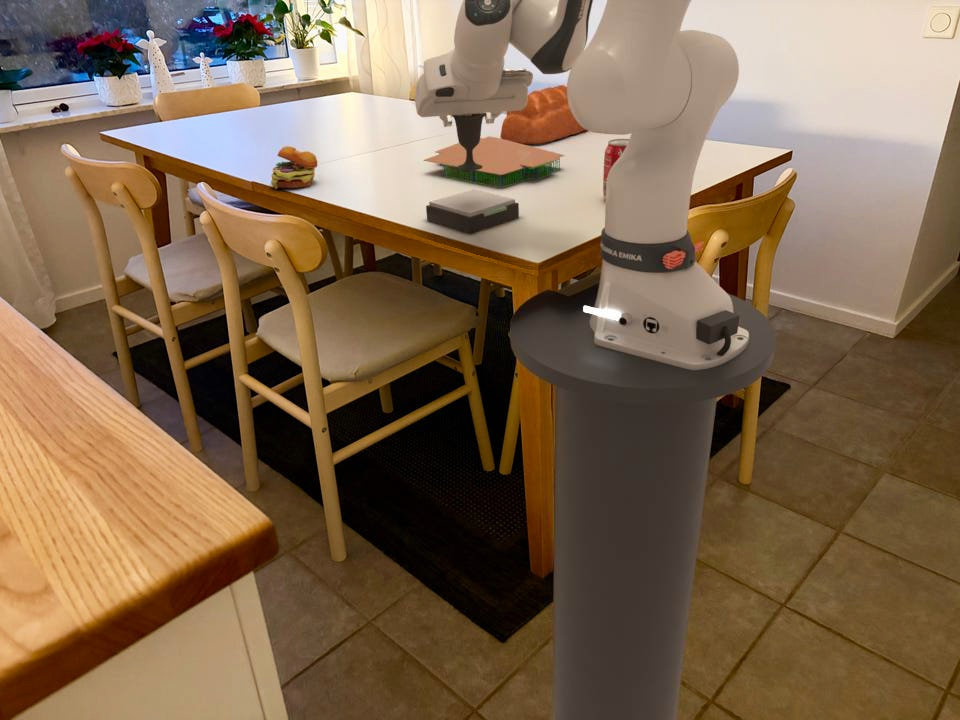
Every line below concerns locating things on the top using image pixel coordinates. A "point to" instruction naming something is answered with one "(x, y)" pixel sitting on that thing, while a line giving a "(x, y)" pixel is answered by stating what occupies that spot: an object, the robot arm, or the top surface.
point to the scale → (472, 210)
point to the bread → (541, 118)
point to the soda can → (612, 157)
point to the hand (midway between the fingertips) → (467, 122)
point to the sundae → (469, 137)
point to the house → (498, 159)
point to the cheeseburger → (294, 169)
